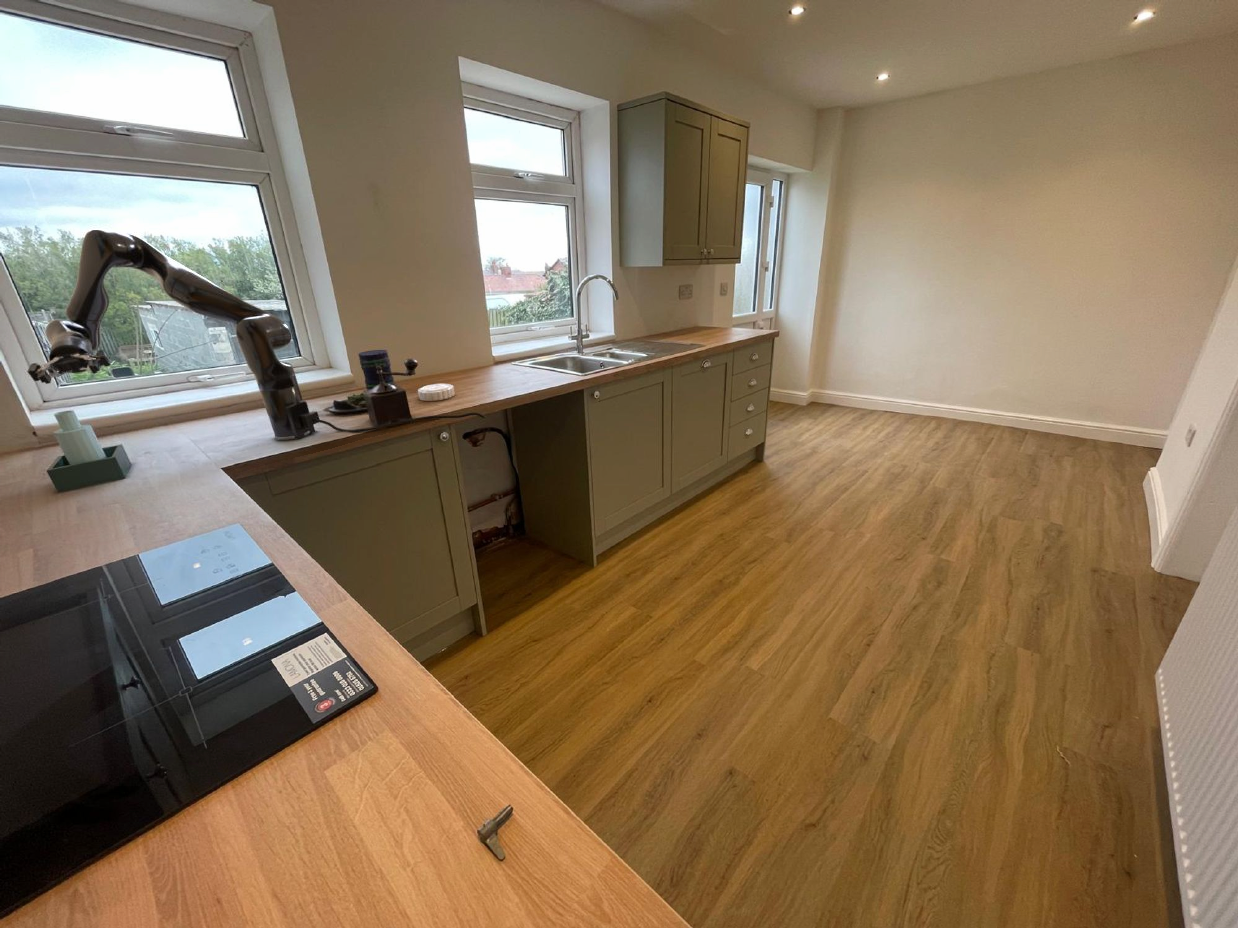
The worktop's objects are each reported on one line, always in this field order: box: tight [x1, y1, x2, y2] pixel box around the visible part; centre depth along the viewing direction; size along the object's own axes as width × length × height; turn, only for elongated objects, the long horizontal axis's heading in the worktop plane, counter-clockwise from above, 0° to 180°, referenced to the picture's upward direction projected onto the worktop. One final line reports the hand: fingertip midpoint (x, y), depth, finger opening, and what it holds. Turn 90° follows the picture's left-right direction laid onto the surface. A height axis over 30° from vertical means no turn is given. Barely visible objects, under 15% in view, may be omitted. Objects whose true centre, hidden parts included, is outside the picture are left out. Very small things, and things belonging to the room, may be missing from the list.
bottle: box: [52, 409, 107, 465], centre depth 118 cm, size 6×6×16 cm
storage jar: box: [357, 349, 396, 390], centre depth 183 cm, size 10×10×15 cm
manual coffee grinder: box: [362, 358, 419, 427], centre depth 152 cm, size 16×11×18 cm
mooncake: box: [417, 382, 455, 402], centre depth 176 cm, size 12×12×4 cm
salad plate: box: [322, 392, 368, 417], centre depth 168 cm, size 19×18×5 cm
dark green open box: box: [45, 443, 132, 493], centre depth 121 cm, size 12×12×6 cm
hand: (69, 374), depth 120 cm, fingers open, 8 cm apart
